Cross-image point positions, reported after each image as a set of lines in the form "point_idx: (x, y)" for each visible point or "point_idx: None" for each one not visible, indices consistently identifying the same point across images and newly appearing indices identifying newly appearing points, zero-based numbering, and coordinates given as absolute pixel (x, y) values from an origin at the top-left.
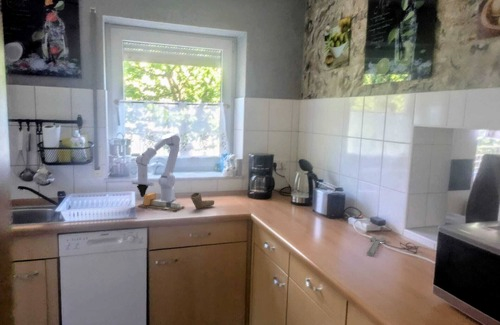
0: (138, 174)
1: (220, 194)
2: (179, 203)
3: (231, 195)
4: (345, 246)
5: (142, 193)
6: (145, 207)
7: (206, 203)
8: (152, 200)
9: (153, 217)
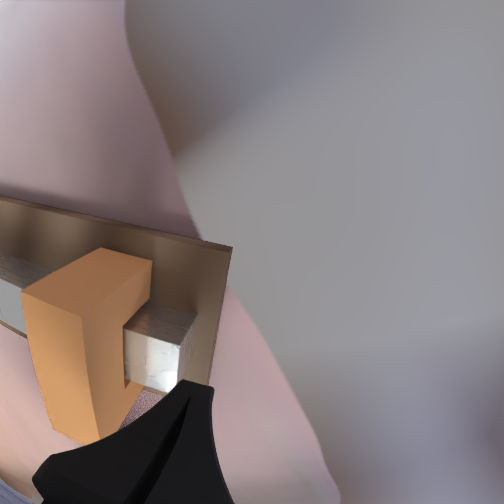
0: None
1: (33, 492)
2: None
3: (4, 471)
4: None
5: (154, 406)
6: (131, 225)
7: None
8: None
9: (12, 4)
